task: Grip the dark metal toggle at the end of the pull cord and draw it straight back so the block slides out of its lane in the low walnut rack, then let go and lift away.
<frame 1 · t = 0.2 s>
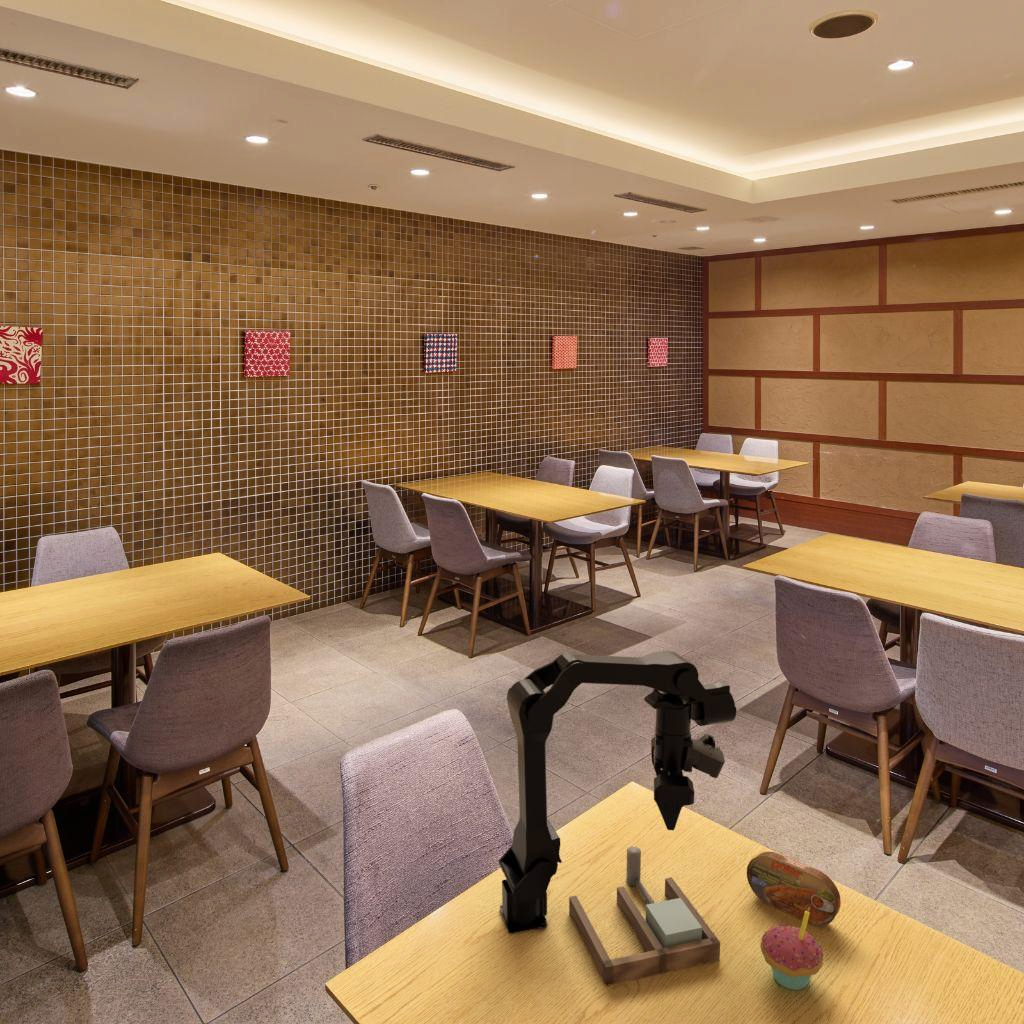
hand: (669, 814, 131), 13 cm above the table, tool pointing down, fingers open, 9 cm apart
corded block: (672, 941, 120), on the table
tin: (791, 910, 127), on the table
lane rack: (665, 930, 122), on the table
cupcake: (789, 979, 112), on the table
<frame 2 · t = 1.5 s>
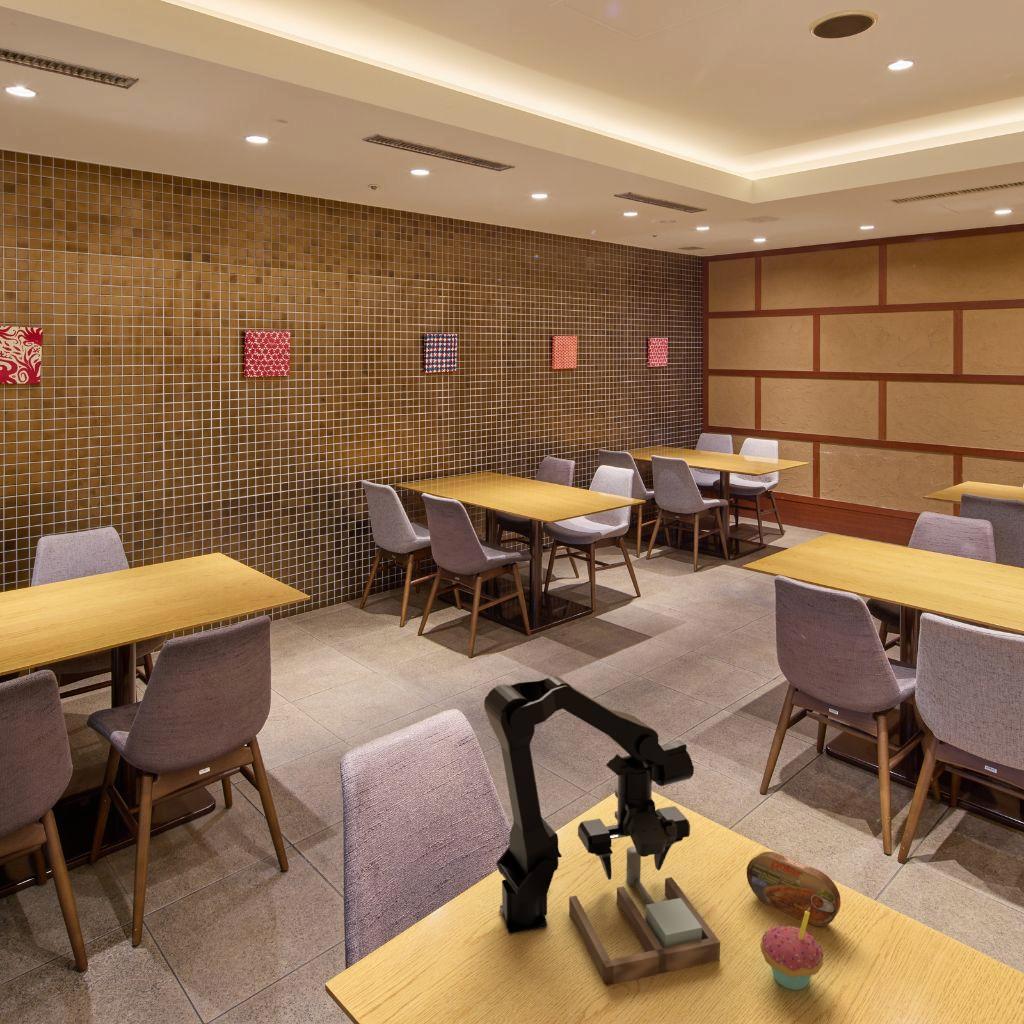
hand: (633, 873, 134), 2 cm above the table, tool pointing down, fingers open, 9 cm apart
nothing on the table moved.
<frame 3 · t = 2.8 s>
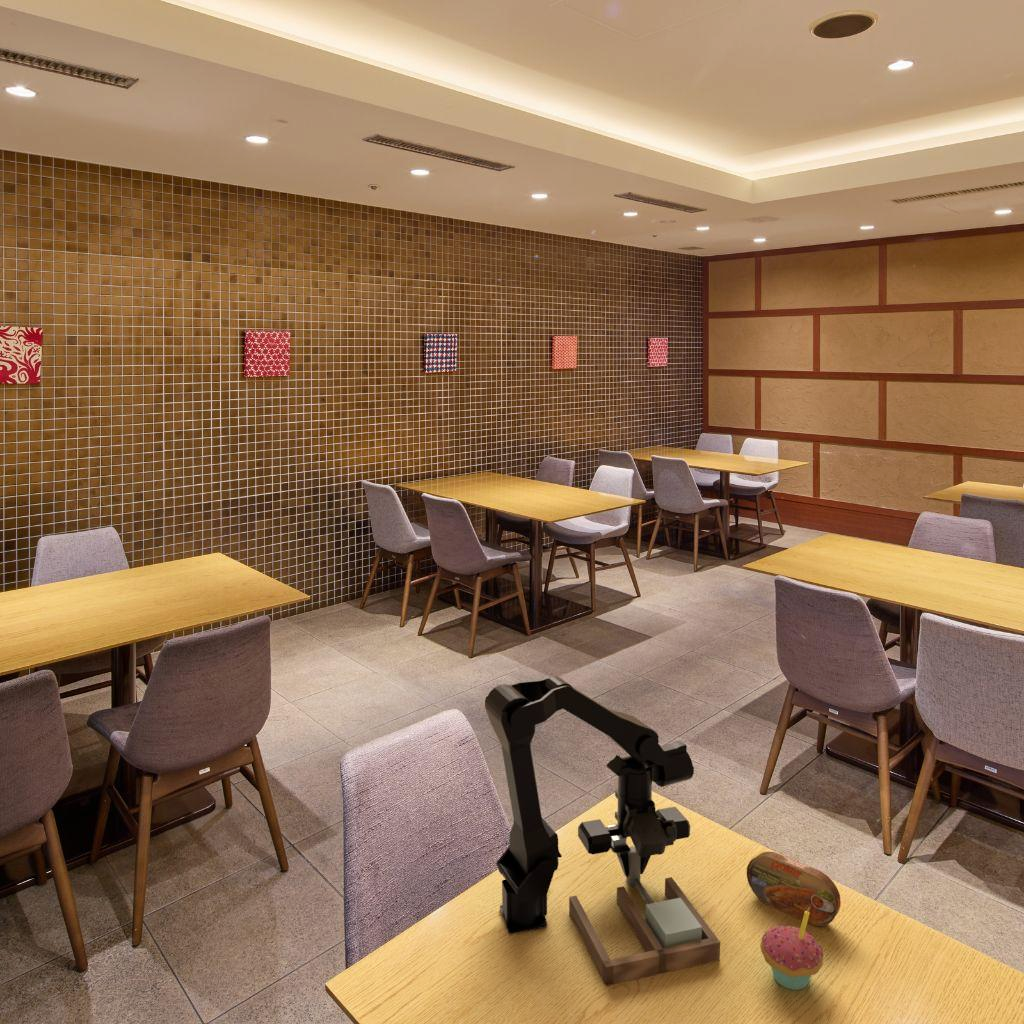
hand: (633, 874, 134), 2 cm above the table, tool pointing down, fingers closed on corded block, 2 cm apart
corded block: (672, 941, 120), on the table, touching gripper
everything else where it was.
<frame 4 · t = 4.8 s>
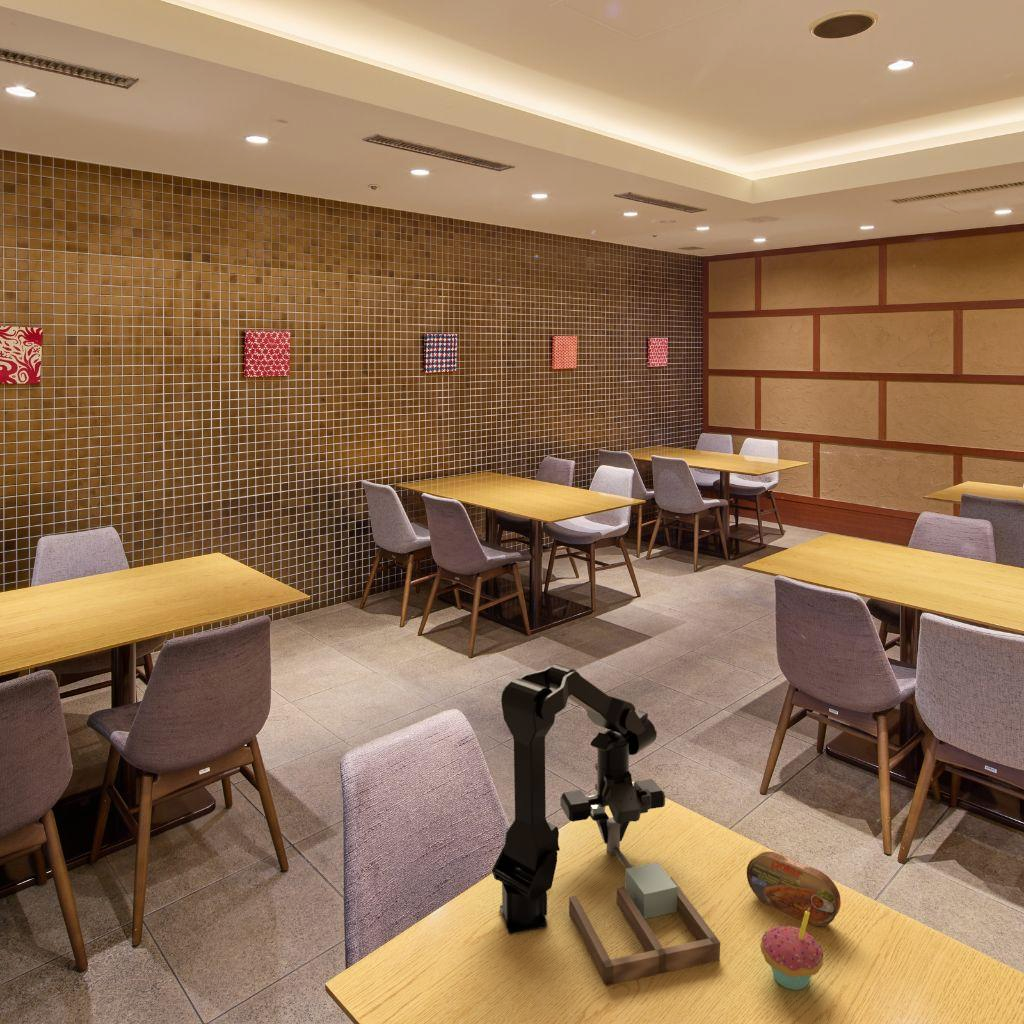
hand: (612, 841, 143), 2 cm above the table, tool pointing down, fingers closed on corded block, 2 cm apart
corded block: (650, 901, 129), on the table, touching gripper
everything else where it was.
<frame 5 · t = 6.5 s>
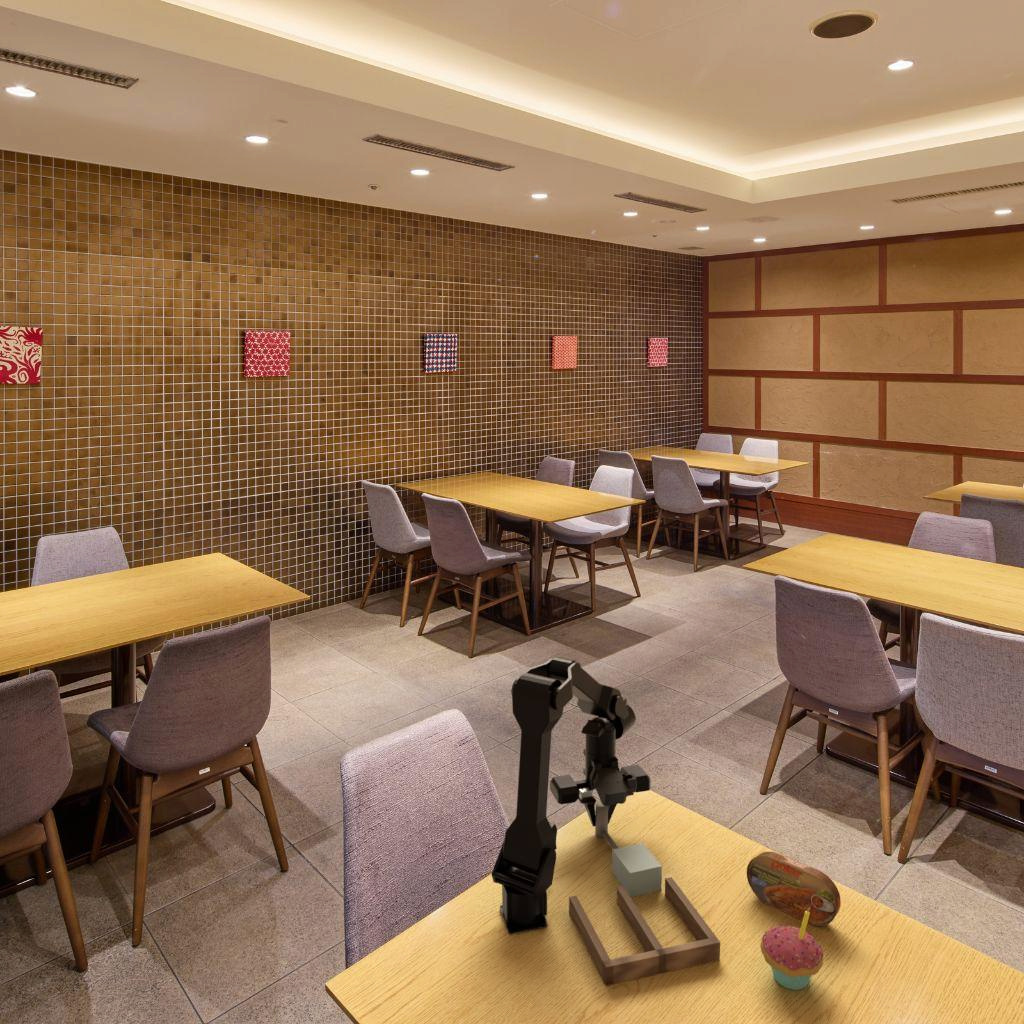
hand: (599, 824, 149), 2 cm above the table, tool pointing down, fingers closed on corded block, 2 cm apart
corded block: (636, 881, 135), on the table, touching gripper
everything else where it was.
when the fingers open (2 cm above the table, at t = 7.1 s): corded block stays where it is, on the table.
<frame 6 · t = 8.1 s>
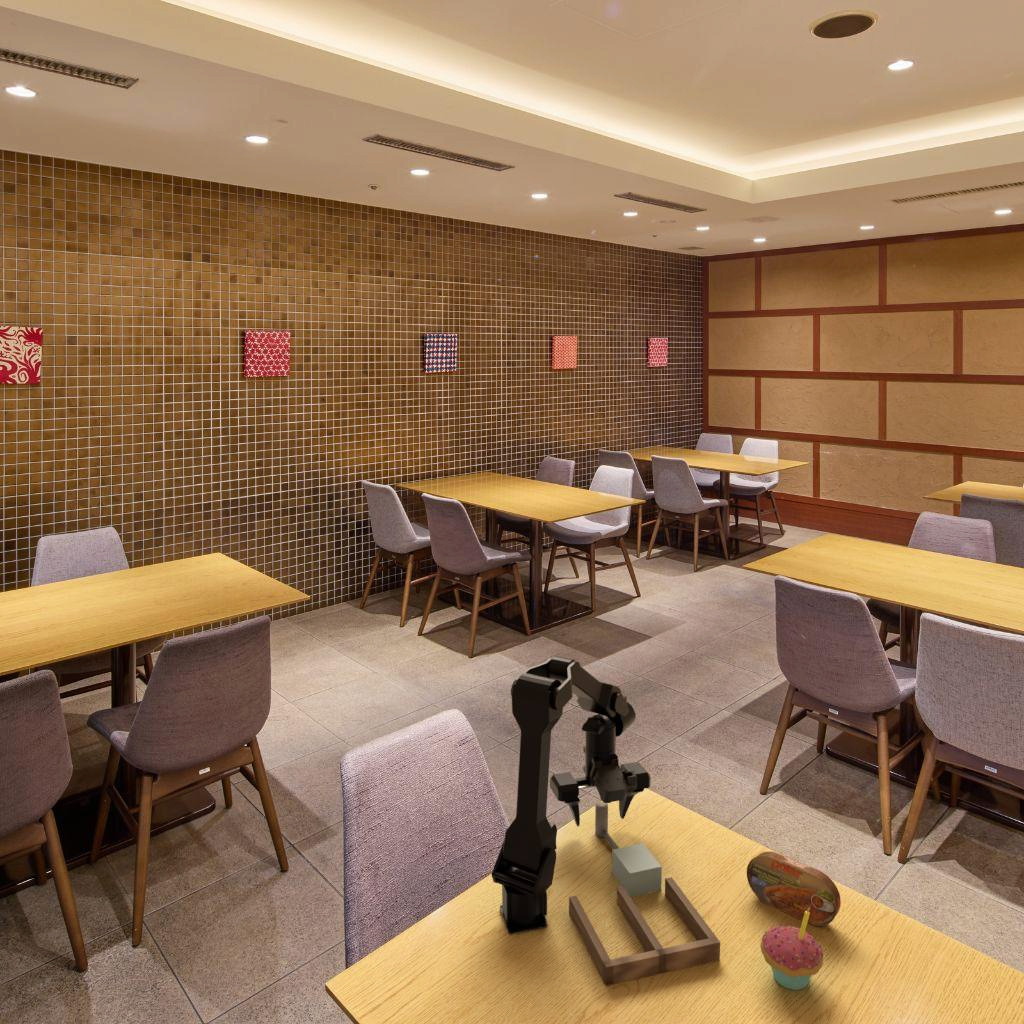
hand: (599, 821, 149), 2 cm above the table, tool pointing down, fingers open, 9 cm apart
corded block: (636, 881, 135), on the table
everything else where it was.
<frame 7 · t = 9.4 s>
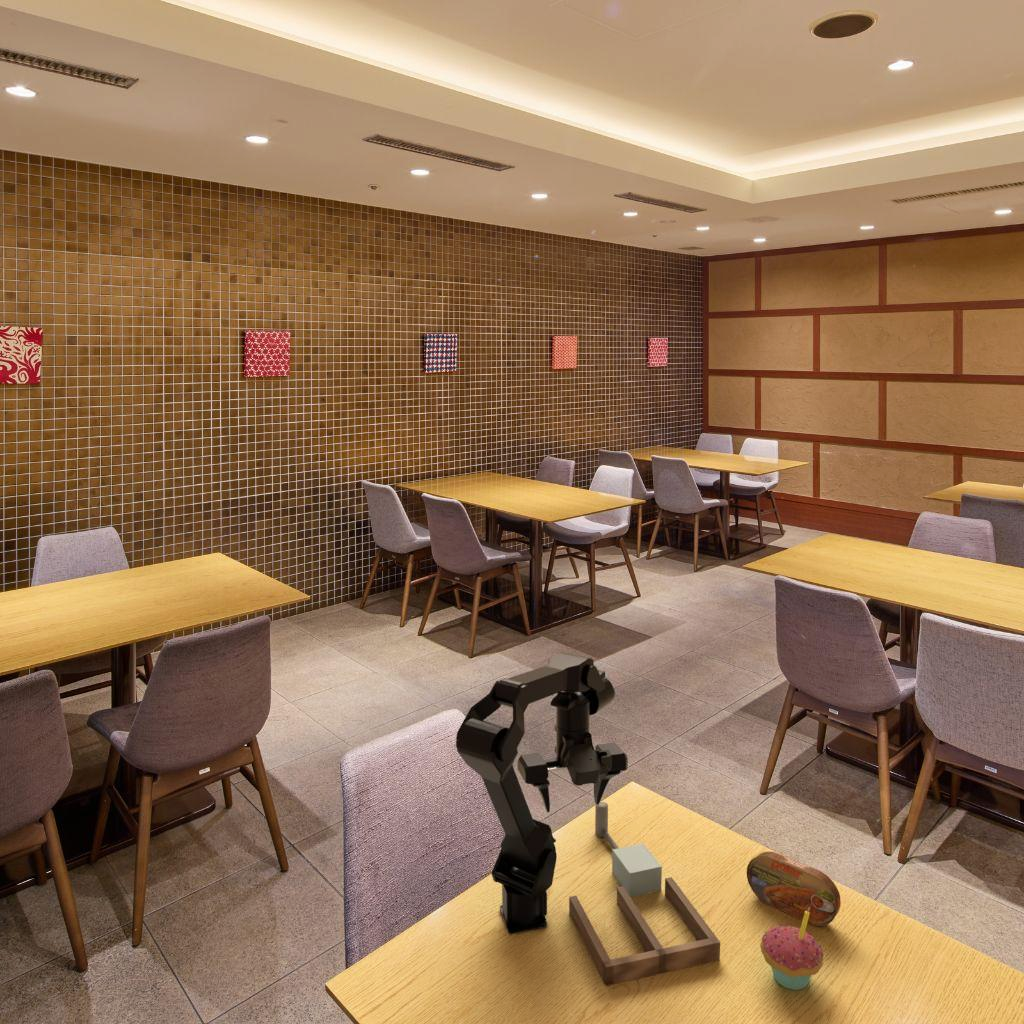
hand: (572, 807, 136), 12 cm above the table, tool pointing down, fingers open, 9 cm apart
nothing on the table moved.
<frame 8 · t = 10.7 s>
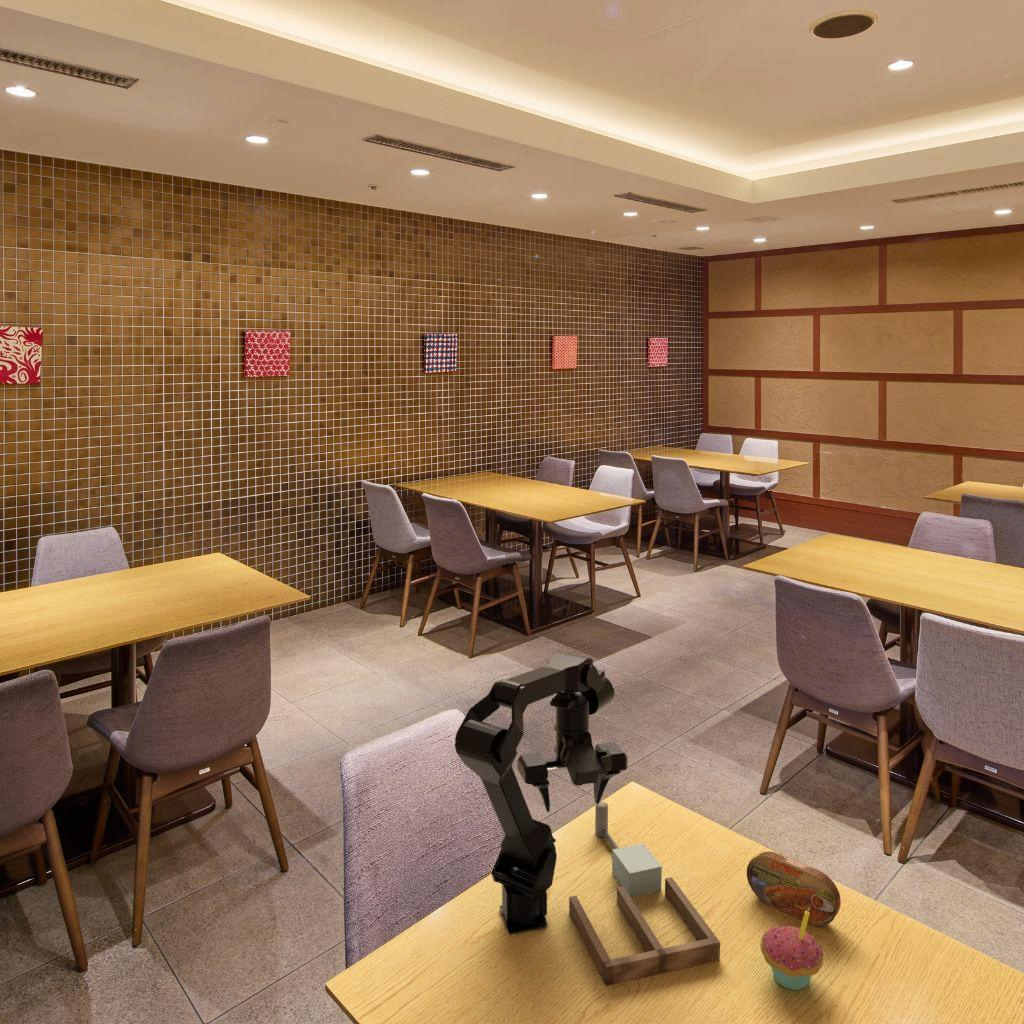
hand: (572, 806, 136), 12 cm above the table, tool pointing down, fingers open, 9 cm apart
nothing on the table moved.
at the end: corded block inside the target area (3.7 cm from its centre), on the table; corded block tilted 0°; the gripper is holding nothing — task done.
